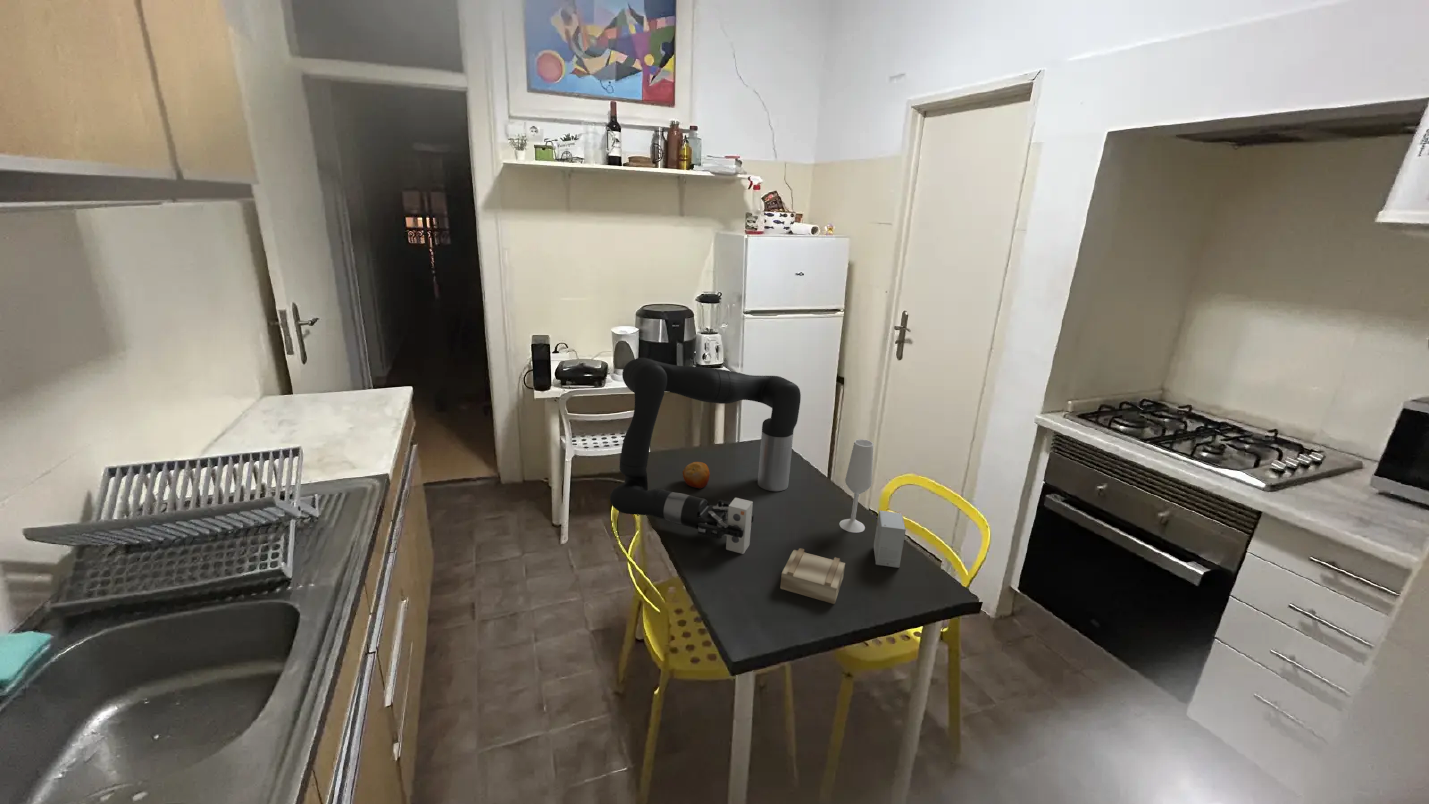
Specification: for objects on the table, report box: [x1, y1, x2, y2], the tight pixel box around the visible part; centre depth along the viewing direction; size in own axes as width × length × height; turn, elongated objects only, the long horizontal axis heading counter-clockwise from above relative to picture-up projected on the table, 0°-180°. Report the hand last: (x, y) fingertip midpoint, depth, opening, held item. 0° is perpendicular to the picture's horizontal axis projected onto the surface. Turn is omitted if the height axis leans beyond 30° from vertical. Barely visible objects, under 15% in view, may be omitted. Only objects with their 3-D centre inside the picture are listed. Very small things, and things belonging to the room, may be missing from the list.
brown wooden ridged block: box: [780, 547, 846, 605], centre depth 126 cm, size 10×12×5 cm
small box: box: [873, 510, 907, 568], centre depth 137 cm, size 8×6×10 cm
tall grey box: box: [725, 497, 754, 555], centre depth 137 cm, size 5×4×12 cm
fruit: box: [682, 461, 711, 489], centre depth 169 cm, size 8×8×8 cm
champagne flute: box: [839, 438, 875, 534], centre depth 147 cm, size 7×7×24 cm
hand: (748, 525), depth 137 cm, fingers open, 7 cm apart
